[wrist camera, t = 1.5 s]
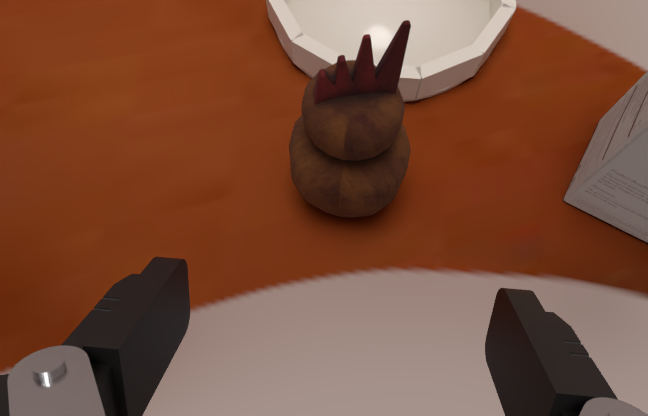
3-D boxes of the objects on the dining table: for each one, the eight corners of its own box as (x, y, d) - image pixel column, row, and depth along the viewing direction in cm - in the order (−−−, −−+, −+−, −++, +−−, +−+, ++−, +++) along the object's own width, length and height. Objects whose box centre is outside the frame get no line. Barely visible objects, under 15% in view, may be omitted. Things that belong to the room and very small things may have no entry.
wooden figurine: (402, 159, 33) (456, -15, 19) (388, 238, 31) (439, 106, 17) (306, 142, 33) (290, -40, 19) (287, 218, 31) (254, 75, 17)
